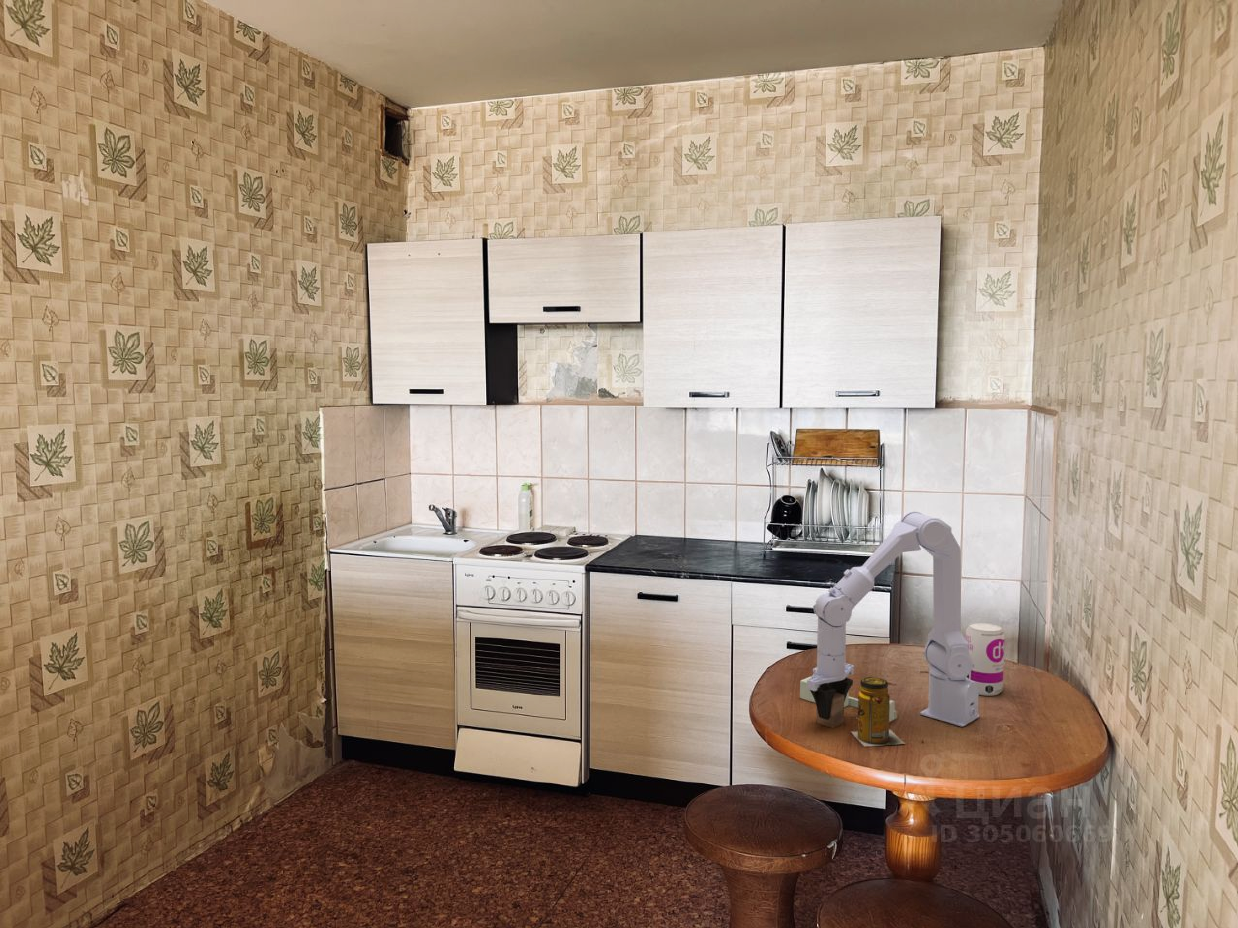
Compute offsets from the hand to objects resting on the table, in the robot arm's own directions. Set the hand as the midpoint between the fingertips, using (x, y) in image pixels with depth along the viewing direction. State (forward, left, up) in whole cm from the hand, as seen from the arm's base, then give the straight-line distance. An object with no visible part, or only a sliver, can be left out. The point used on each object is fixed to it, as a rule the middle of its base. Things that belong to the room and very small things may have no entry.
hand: (830, 714), depth 180 cm
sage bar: (+2, -9, -2) cm, 9 cm away
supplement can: (-14, -41, -2) cm, 43 cm away
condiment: (-11, 0, -2) cm, 11 cm away
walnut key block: (0, 0, -2) cm, 2 cm away
